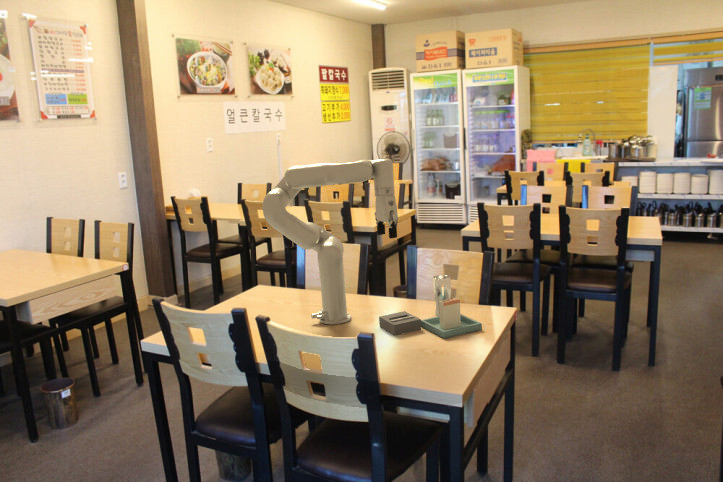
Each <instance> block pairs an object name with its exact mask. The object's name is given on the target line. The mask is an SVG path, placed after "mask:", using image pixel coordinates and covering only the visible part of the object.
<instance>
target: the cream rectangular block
mask: <svg viewBox="0 0 723 482" xmlns="http://www.w3.org/2000/svg"><path fill="white" fill-rule="evenodd" d="M439 314H440V328H442V329H444V330H445V329H449V328H454V327H458V326H461V317H460V314H461V299H459V298H458V297H450V299H446V300H441V301H439Z"/></svg>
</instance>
